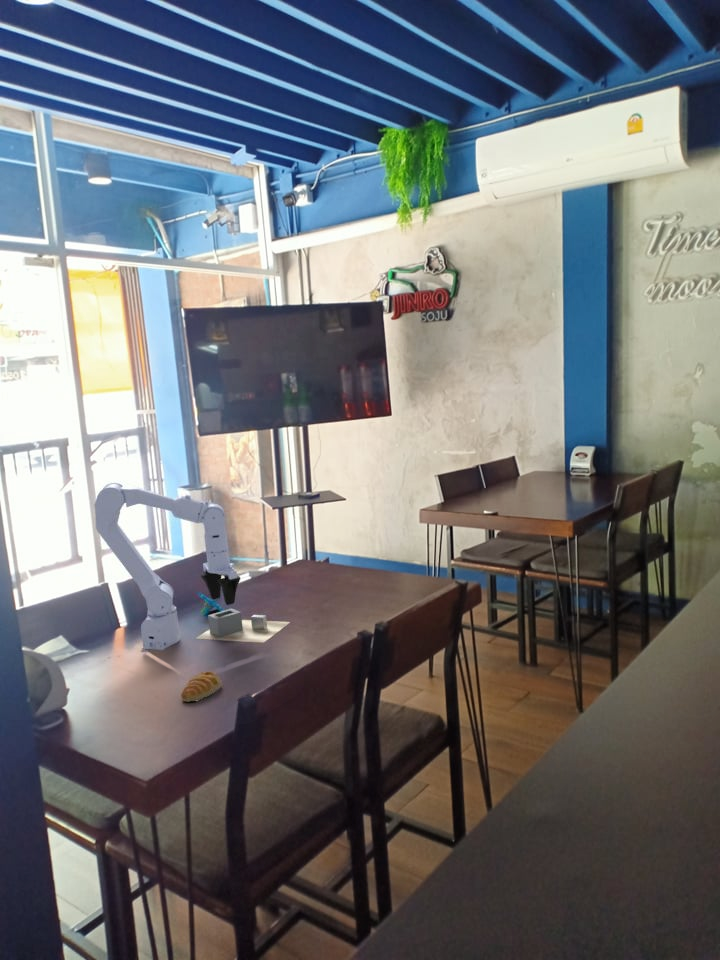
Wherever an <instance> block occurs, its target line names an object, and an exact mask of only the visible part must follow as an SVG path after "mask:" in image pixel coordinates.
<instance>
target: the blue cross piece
mask: <svg viewBox="0 0 720 960" xmlns="http://www.w3.org/2000/svg"><path fill="white" fill-rule="evenodd" d="M197 595H198V597H200V598H201V599H203V600H204V602H205V603H204V607H203V609H202V610H201V611H200V613H201V616H206V615H207V616H208V613H209V612H210V611H212V610H213V608H215V609H217V610H218V611H219V612H221V611H224V610H225V609H224V608H223V607H221V606H220V605H219V604H218V603H217V601H216V599H214V600H213V599H210V598H209V597H207V596H206V595H204V594H203V593H202V592H198V594H197Z"/></svg>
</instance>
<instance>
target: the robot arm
mask: <svg viewBox="0 0 720 960" xmlns="http://www.w3.org/2000/svg"><path fill="white" fill-rule="evenodd" d="M191 496H192V495H190V494H185V496H184V495H179V496H177V497H175V498H172V497H169V496H166V495H163V494H160V493H157V492H154V491H150V490H147V489H145V488H141V487H137V486H133V485H129V484H123V485H122V484H120V483H118V482H109V483H108V484H106V485H105V486H103V488H102V489H101V490H100V491H99V492H98V494H97V497H96V500H95V502H94V505H93V507H94V511H95V512H94V513H95V530H96V531H97V532H98V534H99V535H100V536H101V538H102V540H103V541H104V542H105V544H106V545H107V546H108V547H109V549H110V550H111V551H112V552H113V554H114V555H115V556H116V558H117V559H118V561H119V562H120V563H121V564H122V565H123V567H124V568H125V570H126V571H127V573H129V575H130V577H131V578H132V579H133V580H134V582H135V583H136V584H137V586H138V587H139V590H140V593H141V595H142V597H143V598H144V599H145V603H146V608H147V614H146V615H147V616H146V618H145V620H144V621H142V622H141V624H140V633H141V634H140V635H141V642H142V648H141V649H140V651H141V652H146V653H147V652H149V650H155V651H156V650H157V651H158V650H159V651H163V650H165V649H167V648H168V647H170V646H172V645H174V644H176V643H177V644H178V642H180V641H181V637H180V627H179V626H180V625H179V618H178V611H177V606H175V604H173V598H174V593H175V591H174V588H173V587H172V586H171V585H170V584H169V583H167V582H166V581H164V580H163V579H161V577H160V576H159V575H158V574H156V573H155V572H154V571H153V569H152V567H150V565H149V564H148V562H146V560H145V559H144V557H143V556H142V555H141V553H140V552H139V551H138V549H137V547H136V546H135V545H134V543H133V542H132V541H131V540H130V539H129V537H128V536H127V535H126V533H125V532H124V530H123V529H122V528H121V526H120V525H119V524H118V523H119V519H120V514H121V510H122V507H124V504H125V507H126V508H129V507H132V506H136V505H143V506H147V507H152V508H158V509H162V510H165V511H170V512H171V514H172V516H173V517H174V518H176V519H177V518H178V519H180V520H184V521H187V522H192V523H195V524H203V526H204V527H203V528H204V537H203V538H204V544H205V553H206V560H207V562H204V563H202V566H203V572H204V573H201V574H200V577H201V579H203V582H205V585H206V587H207V589H208V591H209V595H210V597H211V600H217V599H220V598H221V591H222V593H223V600H224V603H225V605H226V606H230V605H233V604H235V599H236V594H237V589H238V586H239V583H240V581H241V576H239V575H238V574H237V573H238V572H237V571H238V570H236V569H234V568H235V563H232V562H231V560H230V559H231V558H230V551H229V543H228V542H229V541H228V533H227V531H226V529H227V527H226V524H225V523H226V519H227V518H226V517H227V516H226V514H225V511H224V509H223V507H222V506H221V505H220V504H217V502H210V500H205V501H202V500H198V499H196V498H195V499H194V498H191ZM222 577H223V578H222Z"/></svg>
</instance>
